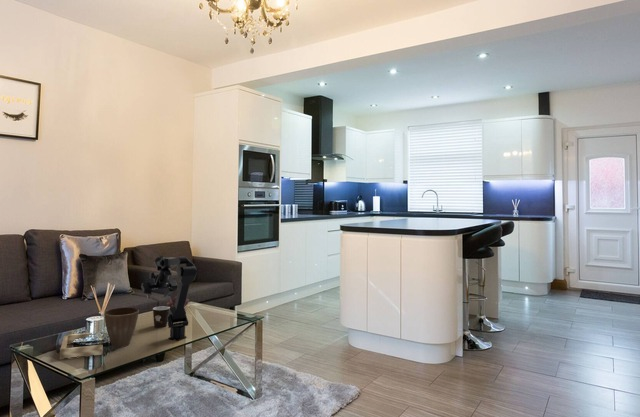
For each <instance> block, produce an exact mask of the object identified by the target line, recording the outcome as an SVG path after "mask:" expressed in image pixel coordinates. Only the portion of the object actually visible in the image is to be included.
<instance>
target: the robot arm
mask: <svg viewBox="0 0 640 417" xmlns="http://www.w3.org/2000/svg"><path fill="white" fill-rule="evenodd" d="M153 262H154V265H155V268H156V270H157V271H158V272H150V273H149V276H148V277H149V279H150V280H153V283H154V284H151V283H150V281H149V282H142V283H141V285H140V288H141V290H142V292H143V294H146V298H147V300H149V299H150V297H151V295H152V292H153V290H159V289H160V290H161V289H165V290H164V294H163V298H166V297H167V296H168V295H170V294H171V293H173V292H175V291H177V293H176V296H177V297H176V301H175V305H174V306H171V307H170V306H169V312H168V313H169V314H168V316H167V321H168V322H167V326H168V329H169V330H170V331H169V332H170V333H169V337H167V338H168V339H167V340H173V341H177V342H179V341H182V340H184V339H186V338H187V335H185V334H186V332H185V331H186V327H188V326H189V320H188V317H187V312H186V310H185V307H186V306H185V302H186V298H188V294H189V289H190V286H191V284H192V283H193V282H194V281H195V279H196V277H197V275H198V269H197V267H196V265H195V263H194V262H192V261H190V259H189V257H187V256H178V257H174V256H172V257H171V256H170V257H164V255H159V256H158V257H156V258H155V259H154V261H153ZM184 265H185V266H184ZM180 266H181V267H180ZM174 268H176V269H175V271H176V273H177V277H178V278H177V279H178V280H179V285H178V283H177V281H176V279H174V280H173V279H172V280H169V278H170V276H172V269H174ZM184 306H185V307H184Z"/></svg>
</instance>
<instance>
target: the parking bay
mask: <svg viewBox="0 0 640 417" xmlns="http://www.w3.org/2000/svg"><path fill="white" fill-rule="evenodd" d="M99 332H100V333H101V334H103V335H104V332H103V331H99ZM92 333H93V332H85V333H84V332H83V333H75V334H72V333H71V334H64V336H63V339H62V342H61V346H60V349H59V360H65V359H64V358H68V359H71V358H70V357H77V356H85V357H91V356H90V355H94V356H101V355H103V354H104V352H103V348H104V346H103V344H95V345H86V346H76V347H68V345H70V344H69V343H72V342H73V341H74V340H75V339H79V338H84V337H87V336H89V335H91V334H92ZM67 344H68V345H67ZM77 358H78V357H77Z"/></svg>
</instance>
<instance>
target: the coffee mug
mask: <svg viewBox="0 0 640 417" xmlns="http://www.w3.org/2000/svg"><path fill="white" fill-rule="evenodd" d="M169 309H170V306H163V305H162V306H155V307H153V308H152V314H153V327H154V328H156V329H163V328H166V327H167V326H168V321H167V316H168V314H169V313H168V312H169Z"/></svg>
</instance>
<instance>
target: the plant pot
mask: <svg viewBox="0 0 640 417" xmlns="http://www.w3.org/2000/svg"><path fill="white" fill-rule="evenodd" d="M139 313H140V310H139V309H138V308H136V307H115V308H111V309H108V310H105V311H104V312H103V316H104V322H105V323H104V324H105V329H106V332H107V335H108V338H109V342H110V343H111V346H112V347H113V348H121V347H123V348H124V347H126V346H129V345H130V343H131V341H132V338H133V336H134V333H135V330H136V326H137V323H138V317H139Z"/></svg>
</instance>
